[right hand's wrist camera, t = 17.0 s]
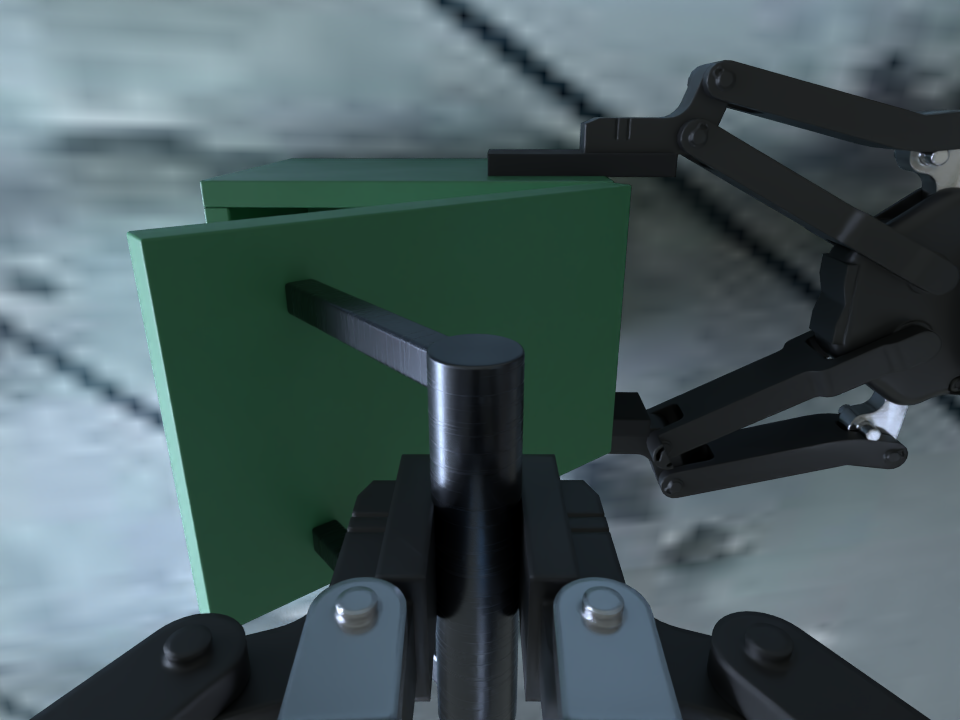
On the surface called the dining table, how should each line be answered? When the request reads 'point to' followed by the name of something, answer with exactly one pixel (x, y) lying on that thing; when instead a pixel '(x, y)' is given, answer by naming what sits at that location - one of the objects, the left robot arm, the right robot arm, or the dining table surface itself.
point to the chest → (358, 185)
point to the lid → (384, 392)
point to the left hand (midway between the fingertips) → (488, 295)
